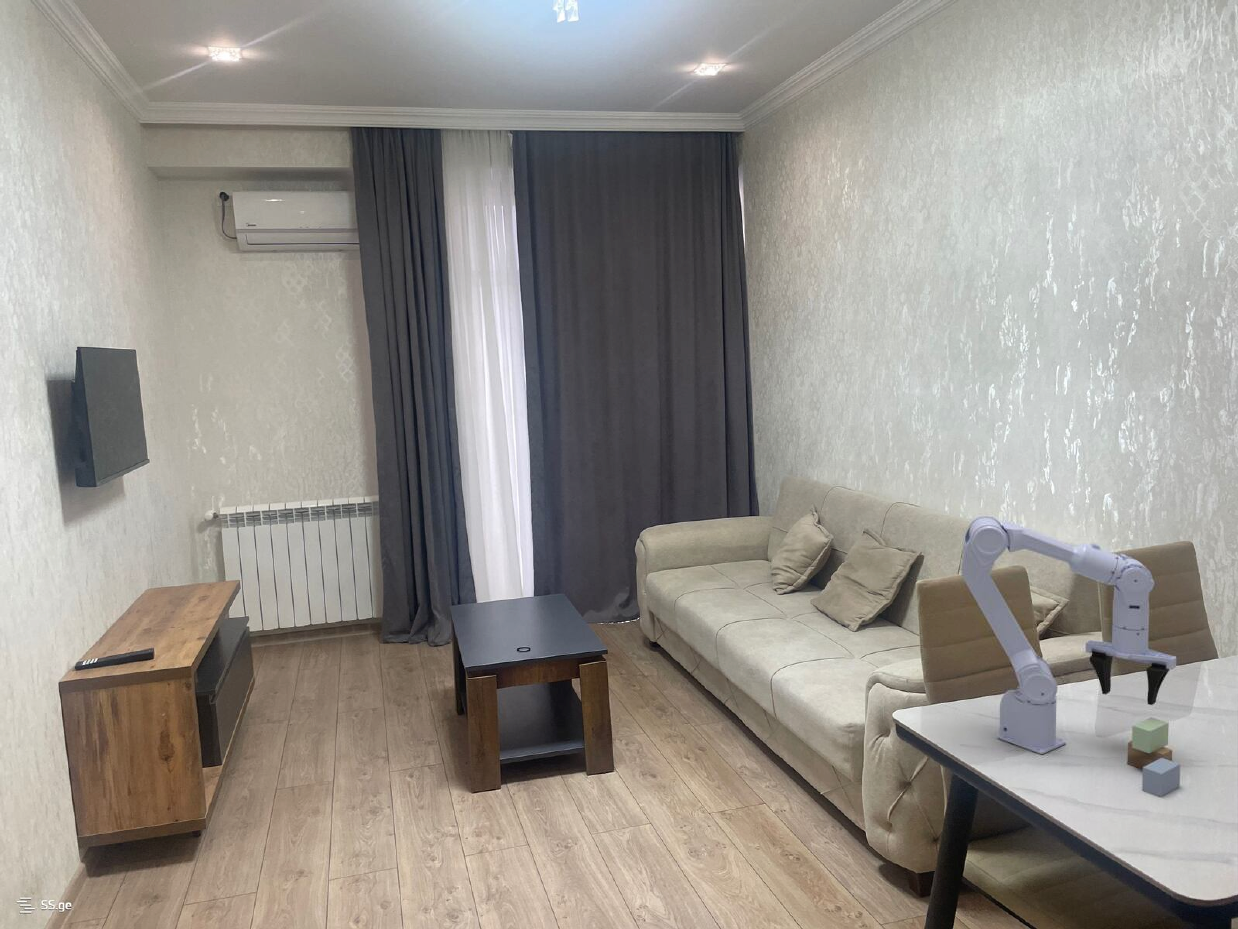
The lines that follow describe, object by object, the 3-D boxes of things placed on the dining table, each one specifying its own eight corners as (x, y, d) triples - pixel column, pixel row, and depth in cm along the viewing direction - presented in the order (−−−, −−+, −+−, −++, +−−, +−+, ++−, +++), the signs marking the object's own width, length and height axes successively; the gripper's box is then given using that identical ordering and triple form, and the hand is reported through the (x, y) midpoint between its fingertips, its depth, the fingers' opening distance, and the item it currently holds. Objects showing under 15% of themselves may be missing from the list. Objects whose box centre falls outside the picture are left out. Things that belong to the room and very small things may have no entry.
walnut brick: (1127, 764, 160) (1127, 742, 159) (1136, 759, 161) (1137, 738, 161) (1162, 776, 155) (1163, 754, 154) (1171, 771, 156) (1172, 749, 156)
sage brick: (1150, 738, 160) (1151, 717, 160) (1167, 744, 158) (1168, 722, 157) (1131, 747, 157) (1132, 725, 157) (1149, 753, 155) (1150, 731, 154)
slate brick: (1160, 797, 148) (1161, 774, 147) (1142, 790, 150) (1142, 767, 150) (1179, 786, 151) (1180, 764, 150) (1161, 780, 153) (1161, 757, 153)
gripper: (1079, 623, 165) (1078, 694, 167) (1167, 639, 154) (1165, 714, 156) (1094, 614, 170) (1093, 683, 171) (1181, 629, 159) (1178, 703, 161)
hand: (1128, 697), depth 164 cm, fingers open, 7 cm apart
